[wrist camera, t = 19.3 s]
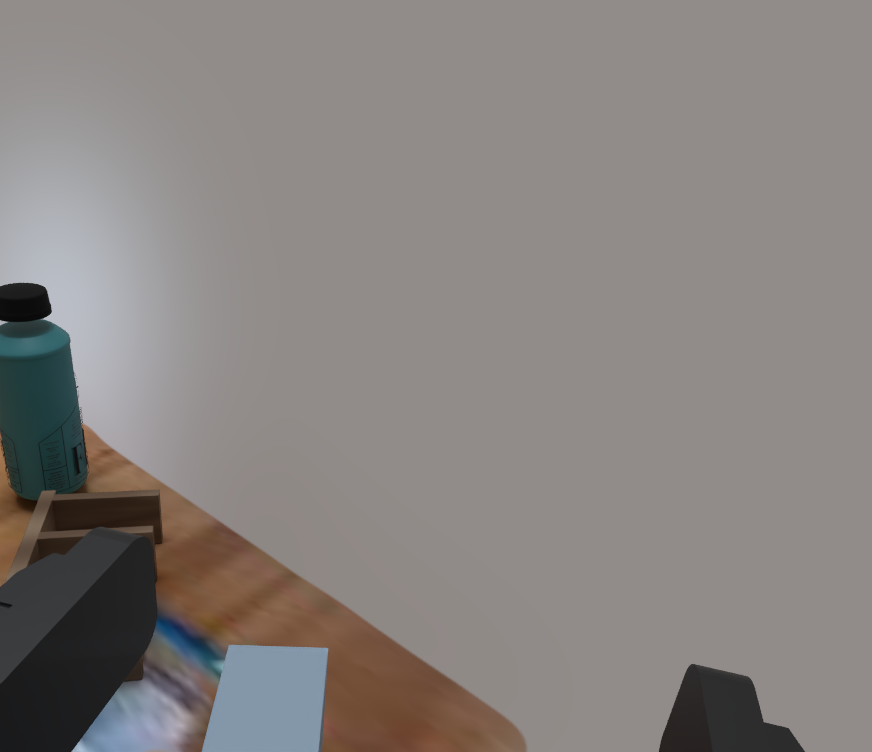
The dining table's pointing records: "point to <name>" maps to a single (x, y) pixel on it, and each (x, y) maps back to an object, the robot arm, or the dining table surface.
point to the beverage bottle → (38, 397)
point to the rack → (88, 526)
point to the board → (269, 700)
